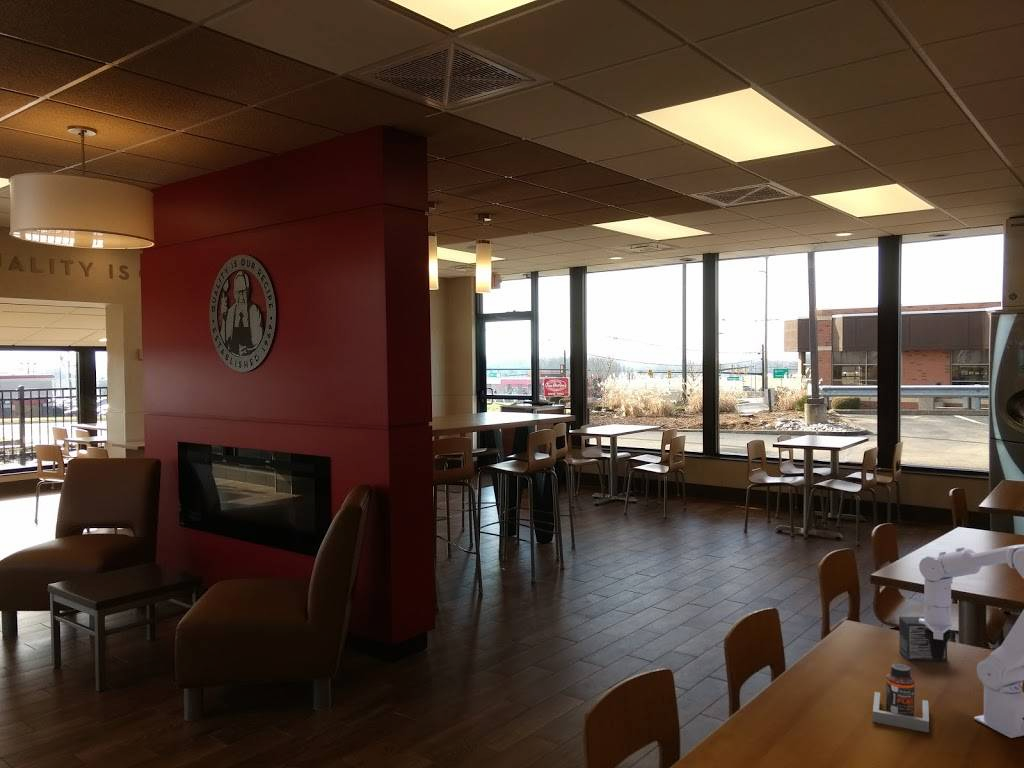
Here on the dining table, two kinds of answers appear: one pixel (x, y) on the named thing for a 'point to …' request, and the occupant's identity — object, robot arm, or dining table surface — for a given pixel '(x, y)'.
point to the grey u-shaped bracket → (901, 717)
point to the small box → (915, 640)
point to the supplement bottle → (900, 690)
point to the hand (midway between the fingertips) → (937, 658)
